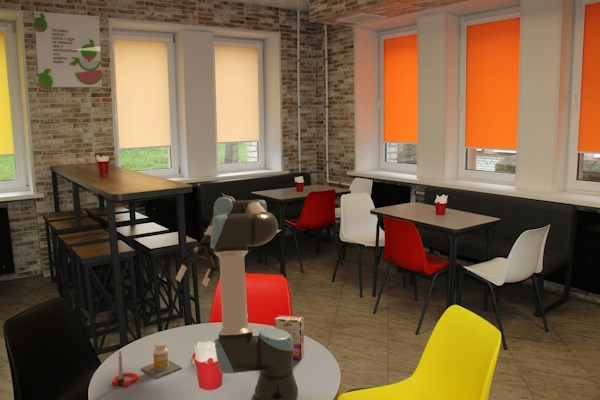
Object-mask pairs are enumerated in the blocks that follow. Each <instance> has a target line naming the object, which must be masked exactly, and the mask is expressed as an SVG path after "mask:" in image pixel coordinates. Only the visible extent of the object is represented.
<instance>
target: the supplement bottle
mask: <svg viewBox="0 0 600 400" xmlns="http://www.w3.org/2000/svg"><path fill="white" fill-rule="evenodd" d="M168 360H169V350H168V348H167V343H166V342H165V341H158V342H156V343H155V344H154V349H153V363H154V368H155V369H156V370H165V369H167V368H168V366H169V364H168Z"/></svg>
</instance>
